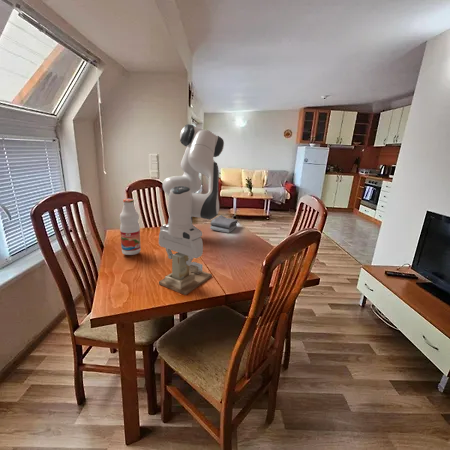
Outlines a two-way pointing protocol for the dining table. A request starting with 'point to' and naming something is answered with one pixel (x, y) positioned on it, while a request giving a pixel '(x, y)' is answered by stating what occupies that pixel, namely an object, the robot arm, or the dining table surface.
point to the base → (185, 282)
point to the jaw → (195, 268)
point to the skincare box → (179, 266)
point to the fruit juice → (129, 228)
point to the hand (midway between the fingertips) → (179, 261)
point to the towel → (223, 224)
